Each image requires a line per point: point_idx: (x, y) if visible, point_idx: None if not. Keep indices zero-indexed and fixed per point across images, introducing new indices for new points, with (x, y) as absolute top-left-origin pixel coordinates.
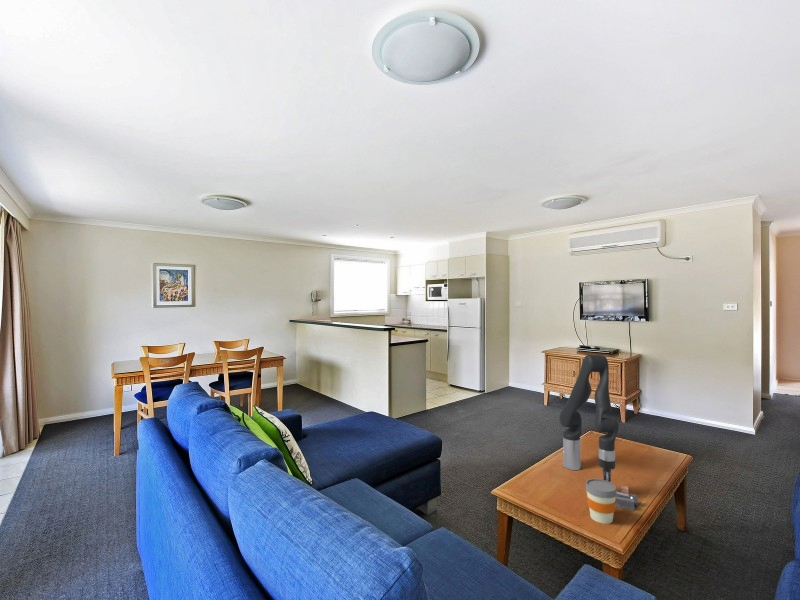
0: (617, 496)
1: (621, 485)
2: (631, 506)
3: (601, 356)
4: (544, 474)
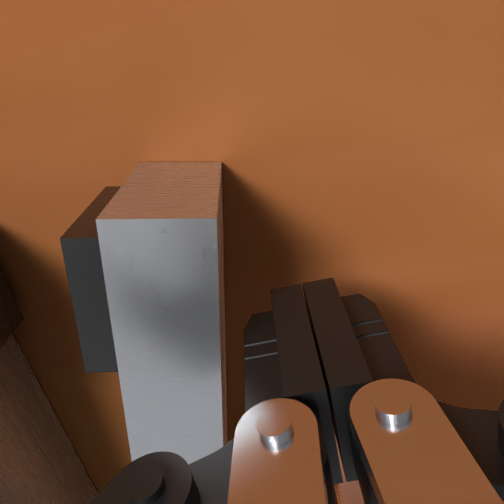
0: None
1: None
2: None
3: None
4: None
